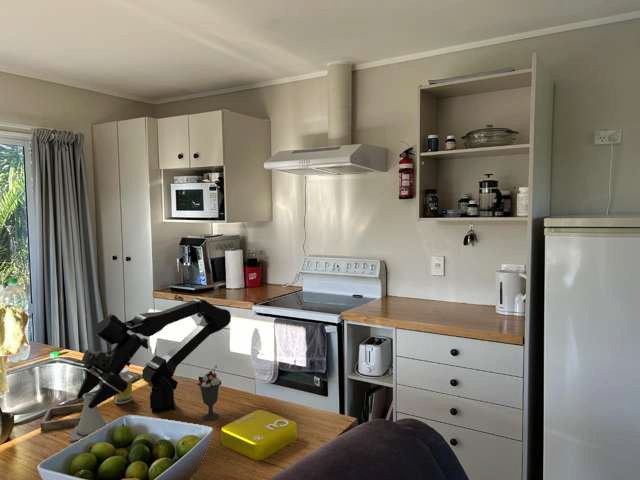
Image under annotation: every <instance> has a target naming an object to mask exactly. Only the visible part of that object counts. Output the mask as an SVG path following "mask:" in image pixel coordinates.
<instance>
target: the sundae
mask: <svg viewBox="0 0 640 480" xmlns="http://www.w3.org/2000/svg"><path fill="white" fill-rule="evenodd" d="M216 368H218V366H217V365H215V366H214V367H213V368H212V370H210V371H208V373H205V375H204V376H203V377H202V376H198V377H197V378H198V380H199V383H198V382H197V387H199V388H200V393H201V397H202V401H203V404H204V405H206V406H207V407H208V408H207V409H208V411H207V413H206V414H204V415H202V418H201V419H202V420H203V421H207V422H212V421H216V420H218V419H219V418H220V414H219V413H218V412H214V409H213V406H215V404H216V403H218V402H217V401H218V398H219V389H220V386H221V385H222V380H220V379H219V377H217V373H216V372H215V370H216Z"/></svg>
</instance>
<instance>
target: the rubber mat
mask: <svg viewBox="0 0 640 480" xmlns="http://www.w3.org/2000/svg"><path fill="white" fill-rule="evenodd" d="M104 421H105V423H106V424H108V423H110V424H111V420H104ZM77 428H78V425H74V428H73V431H72V433H71V436H70V439H69V443H73V442H79V441H78V440H80V439H82V438H84V437H86V436H88V435H81V434H78V433H76V431H77ZM80 441H81V440H80Z"/></svg>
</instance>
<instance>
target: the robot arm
mask: <svg viewBox="0 0 640 480" xmlns="http://www.w3.org/2000/svg"><path fill="white" fill-rule="evenodd" d="M197 314H200V315H201V316H202V317H201V320H200V323H199V324H198V326H196V327H195V328H194V329H193V330H192V331H191V332H190V333H188V334H187V336H186V337H184V338H183V339H182V340H181V341H179V343H178V344H176V346H174V347H173V348H172V349H171V350H170V351H169V352H168V353H167V354H165V355H163V356H160V355H157V354H155V356H153V357H152V358H151V360H150V361H148V362H146V363H145V366H144V368H143V369H142V374H141V377H142V380H143V381H144V382H146V383H147V384H148V386H149V387H151V392H149V408H150V409H151V413H153V414H154V413H160V412H161V413H162V412H166V411H167V412H168V411H173V410H175V409H176V405H175V396H174V395H175V390H176V389H177V386H178V384H179V382H178V381H177V380H175V379H174V378H173V376H174V374H175V372H176V369H177V367H178V366H179V364H181V363H182V362H183V361H184V360H185V359H186V358H187V357H189V355H191V354H192V353H193V352H194V351H195V350H196V348H198V347H199V346H200V345H201V344H202V343H203V342H204V341H205V340H206V339H207V338H208V337H210V336H211V335H213V334H214V333H217V332H220V331H222V330H223V329H224V328H226V327H227V326H228V325H230V323H231V321H232V320H231V318H232V314H231V312H230V310H228V309H225V308H221V307H218V306H215V305H214V304H212V303H210V302H208V301H207V300H206V299H201V298H194V299H192V300H190V301H186V302H185V303H181V304H178V305H176V306H173V307H170V308H166V309H164V310H160V311H154V312H144V313H143V312H142V313H139V314H137V315H134V317H133V319H129V320H126V321H121V320H120V319H119V318H118V317H117V316H116V315H114V314H112V313H110V314H109V315H108V316H107V317H105V318H103V319H102V320H101V321H99V322H98V323H97V324H96V325H95V327H94V330H93V333H94V335H96V336H97V337H99V339H101V340H102V341H105V343H107V344H109V345H110V346H113V345H115V346H114V347H113V348H112V350H111V349H108V350H106V351H99V350H98V351H96V350H91V349H85V351H84V354H83V356H82V358H81V362H84V363H83V367H84V368H83V373H84V379H83V380H82V381H83V382H82V384H81V386H80V389H79V391H78V393H77V395H76V398H77V399H82V398H83V395H84V394H86V393H90V392H91V391H93V389H95V388H96V387H98V386H99V387H98V390H97V391H96V392H95V393H96V394H95V396H94V397H93V399H92V400H91V402H90V404H89V406H88V407H89V408H90V409H92V408H94V407H95V406H97V407H98V406H99V405H100V404H102V403H103V402H105V401H108V400H109V399H111V398H112V397H113V398H114V396H115V395H117V394H120V392H118V391H121V392H122V393H124V391H125V390H126V389H127V387H128V382H126V381H125V380H123V379H122V378H120V377H121V376H120V375H119V374H120V373H121V371H122V370H123V369H125V367H126V366H127V367H128V368H129V367H130V365H131V364H132V362H130V361H131V360H132V359H133V357H134V355H136V353H137V352H138V350H140V348H141V347H142V348H144V349H147V350H148V349H149V343H148V341H149V339H148V338H147V337H152V336H154V335H156V334H157V333H159V332H161V331H162V330H163V329H164V328H165V327H167V326H168V325H171V324H173V323H175V322H178V321H181V320H183V319H186V318H189V317H192V316H194V315H197ZM129 332H131V334H130V333H129ZM139 335H141V336H143V337H142V338H141V337H140V336H139Z"/></svg>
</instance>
